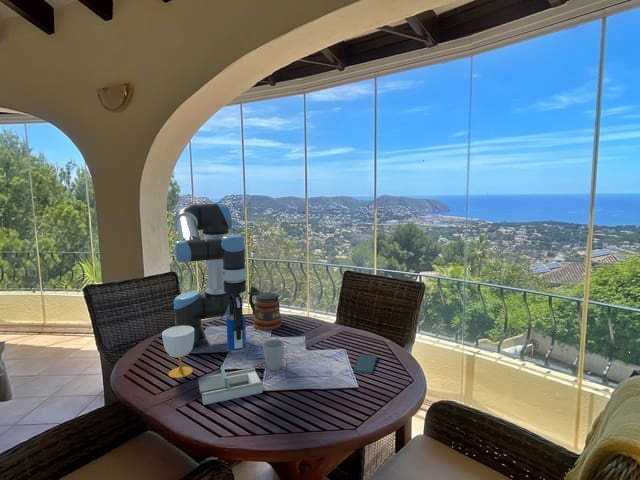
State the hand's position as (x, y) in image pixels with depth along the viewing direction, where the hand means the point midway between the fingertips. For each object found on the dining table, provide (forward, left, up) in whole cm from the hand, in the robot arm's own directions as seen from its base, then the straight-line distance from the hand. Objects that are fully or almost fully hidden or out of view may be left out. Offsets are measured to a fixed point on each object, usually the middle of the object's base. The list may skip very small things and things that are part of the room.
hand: (236, 343), depth 134 cm
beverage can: (0, 0, -2) cm, 2 cm away
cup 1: (-21, -19, -17) cm, 33 cm away
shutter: (0, -9, -14) cm, 16 cm away
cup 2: (-11, +16, -17) cm, 26 cm away
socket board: (0, -3, -17) cm, 17 cm away
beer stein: (-60, +24, -17) cm, 67 cm away
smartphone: (+1, +51, -18) cm, 54 cm away
